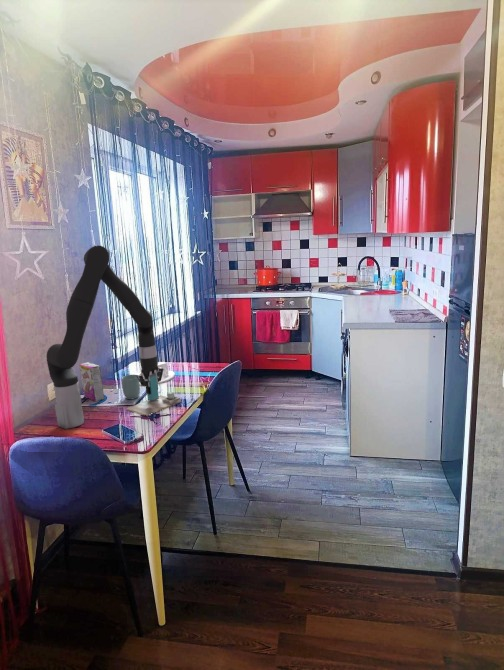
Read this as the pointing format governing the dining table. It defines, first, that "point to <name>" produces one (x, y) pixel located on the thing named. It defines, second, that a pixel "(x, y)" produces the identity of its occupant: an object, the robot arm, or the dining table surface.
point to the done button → (170, 395)
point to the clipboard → (153, 405)
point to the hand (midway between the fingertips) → (152, 392)
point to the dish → (166, 374)
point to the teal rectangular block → (153, 388)
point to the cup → (130, 386)
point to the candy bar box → (91, 381)
